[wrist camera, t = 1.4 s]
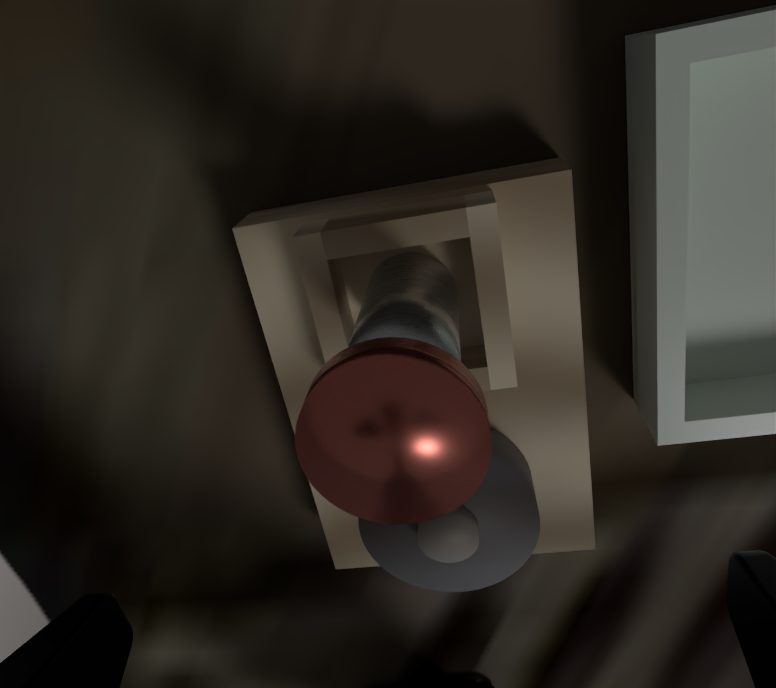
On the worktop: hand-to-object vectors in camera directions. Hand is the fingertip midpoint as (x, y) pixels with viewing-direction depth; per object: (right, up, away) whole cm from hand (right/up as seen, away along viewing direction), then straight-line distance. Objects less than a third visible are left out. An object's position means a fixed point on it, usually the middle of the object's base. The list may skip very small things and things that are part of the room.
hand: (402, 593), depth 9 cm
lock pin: (+1, +5, +10) cm, 11 cm away
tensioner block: (+1, +2, +14) cm, 14 cm away
